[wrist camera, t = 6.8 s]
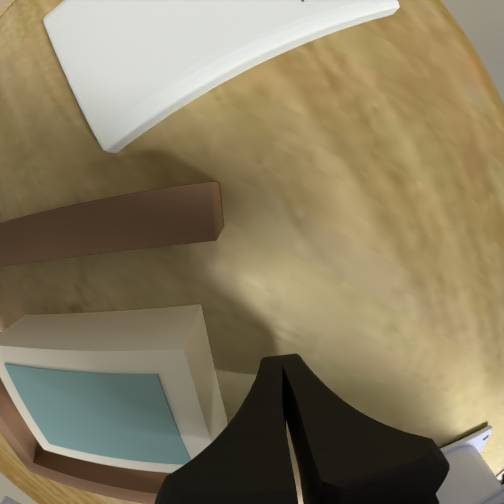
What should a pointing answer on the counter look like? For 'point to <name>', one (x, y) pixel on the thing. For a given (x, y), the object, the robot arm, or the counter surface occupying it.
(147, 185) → the counter surface
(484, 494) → the robot arm
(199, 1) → the external hard drive
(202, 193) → the frame
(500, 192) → the counter surface
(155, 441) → the card box
